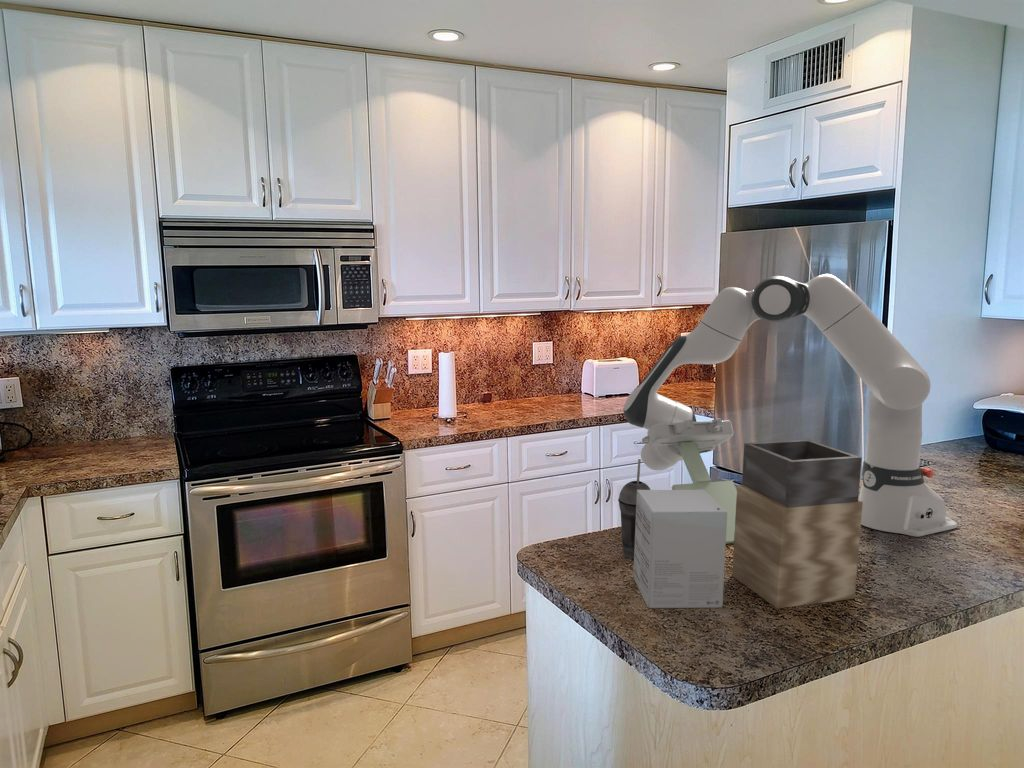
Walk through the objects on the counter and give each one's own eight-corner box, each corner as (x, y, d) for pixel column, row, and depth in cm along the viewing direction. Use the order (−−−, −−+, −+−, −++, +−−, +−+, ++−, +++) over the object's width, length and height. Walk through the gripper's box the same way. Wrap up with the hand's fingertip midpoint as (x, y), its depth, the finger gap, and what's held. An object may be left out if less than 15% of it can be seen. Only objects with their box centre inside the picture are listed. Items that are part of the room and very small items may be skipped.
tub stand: (803, 567, 140) (813, 439, 136) (854, 598, 126) (866, 457, 123) (731, 575, 136) (739, 443, 132) (776, 608, 122) (786, 462, 119)
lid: (712, 445, 171) (716, 440, 169) (756, 541, 154) (760, 536, 153) (656, 448, 167) (658, 443, 165) (694, 547, 150) (698, 542, 149)
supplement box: (701, 577, 135) (705, 488, 133) (723, 608, 122) (729, 511, 120) (632, 577, 135) (635, 488, 132) (647, 609, 122) (651, 511, 119)
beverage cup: (611, 557, 144) (614, 462, 141) (623, 545, 150) (626, 454, 148) (646, 564, 141) (649, 466, 138) (656, 552, 147) (660, 458, 144)
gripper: (636, 430, 170) (660, 410, 158) (712, 426, 175) (741, 407, 163) (641, 455, 168) (665, 437, 156) (718, 450, 173) (747, 433, 161)
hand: (705, 422), depth 159 cm, fingers open, 6 cm apart
